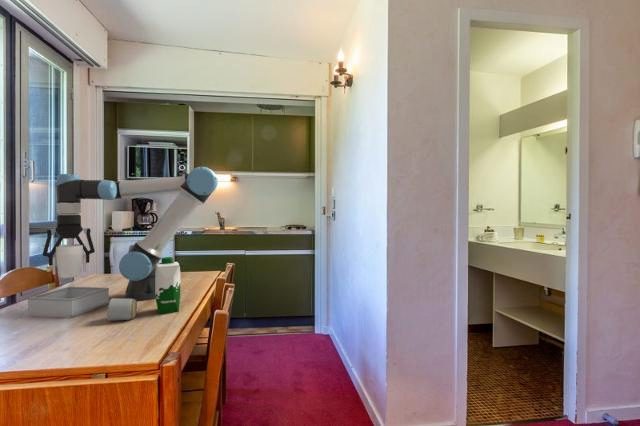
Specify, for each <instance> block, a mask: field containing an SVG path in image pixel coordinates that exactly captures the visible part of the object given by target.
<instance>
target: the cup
mask: <svg viewBox="0 0 640 426" xmlns="http://www.w3.org/2000/svg"><path fill="white" fill-rule="evenodd" d="M84 254H85V252H84V250H83V245H80V244H79V243H78V244H77V243H75V244H74V243H71V244H60V245H59V247H56V252H55V253H54V257H55V264H56V267H57V268H56V269H57V273H58V277H59V278H60V279H71V278H76V277H79V276H81V272H82V267H83V255H84Z"/></svg>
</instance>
